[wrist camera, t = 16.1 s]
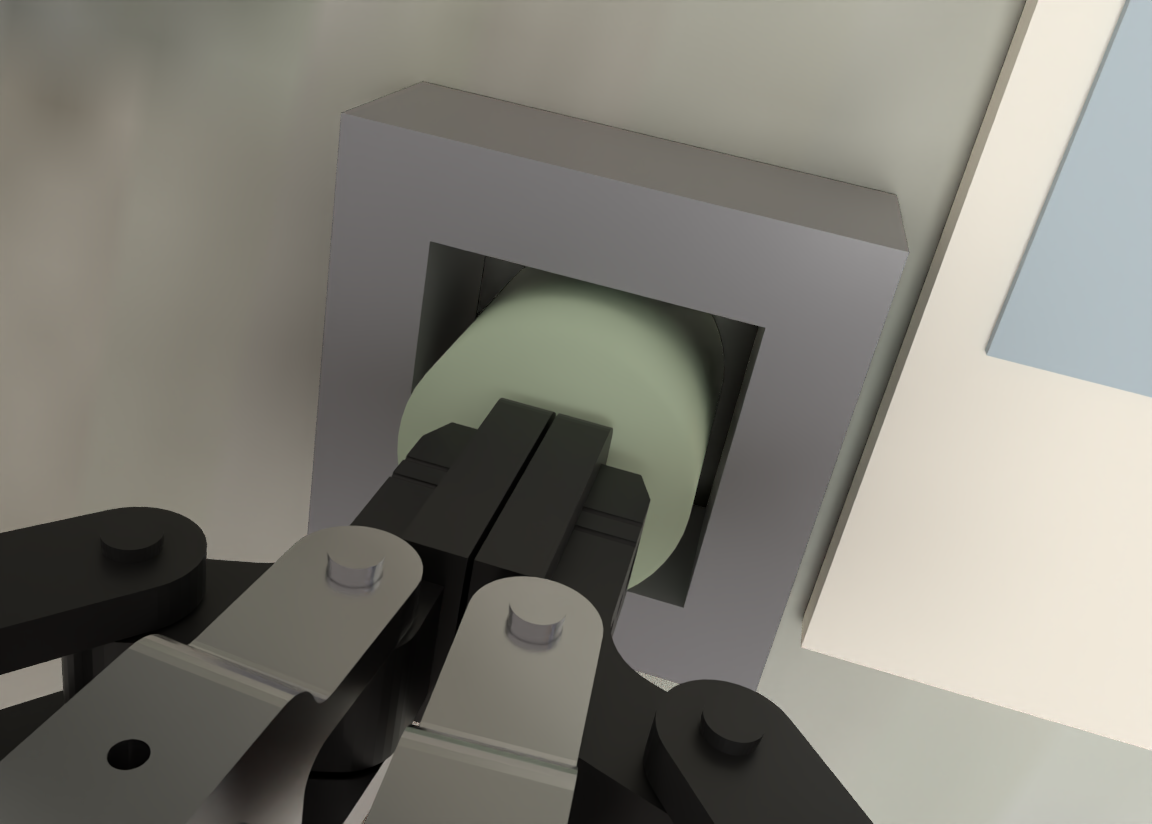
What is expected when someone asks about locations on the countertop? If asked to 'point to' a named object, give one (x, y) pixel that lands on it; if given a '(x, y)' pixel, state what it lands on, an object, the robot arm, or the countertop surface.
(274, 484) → the countertop surface
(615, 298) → the button
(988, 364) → the board
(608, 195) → the frame
